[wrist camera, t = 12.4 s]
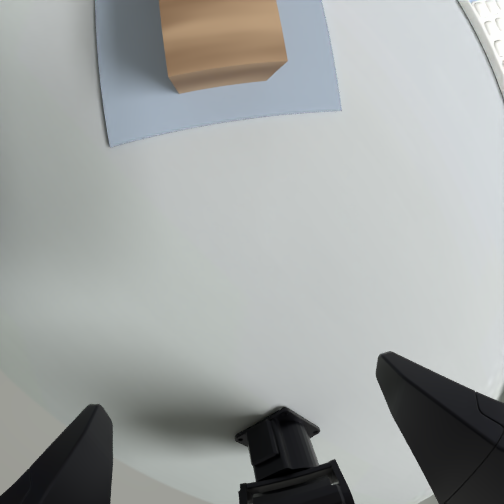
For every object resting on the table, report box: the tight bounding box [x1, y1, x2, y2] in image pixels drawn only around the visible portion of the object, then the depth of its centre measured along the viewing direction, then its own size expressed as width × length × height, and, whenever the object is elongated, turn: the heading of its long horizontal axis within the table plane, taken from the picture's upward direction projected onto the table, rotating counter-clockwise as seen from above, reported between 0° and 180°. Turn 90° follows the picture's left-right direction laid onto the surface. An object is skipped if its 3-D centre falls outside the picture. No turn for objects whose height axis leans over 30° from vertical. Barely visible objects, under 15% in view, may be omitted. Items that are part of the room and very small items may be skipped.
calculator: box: [458, 0, 504, 98], centre depth 14 cm, size 13×20×2 cm, turn 34°
